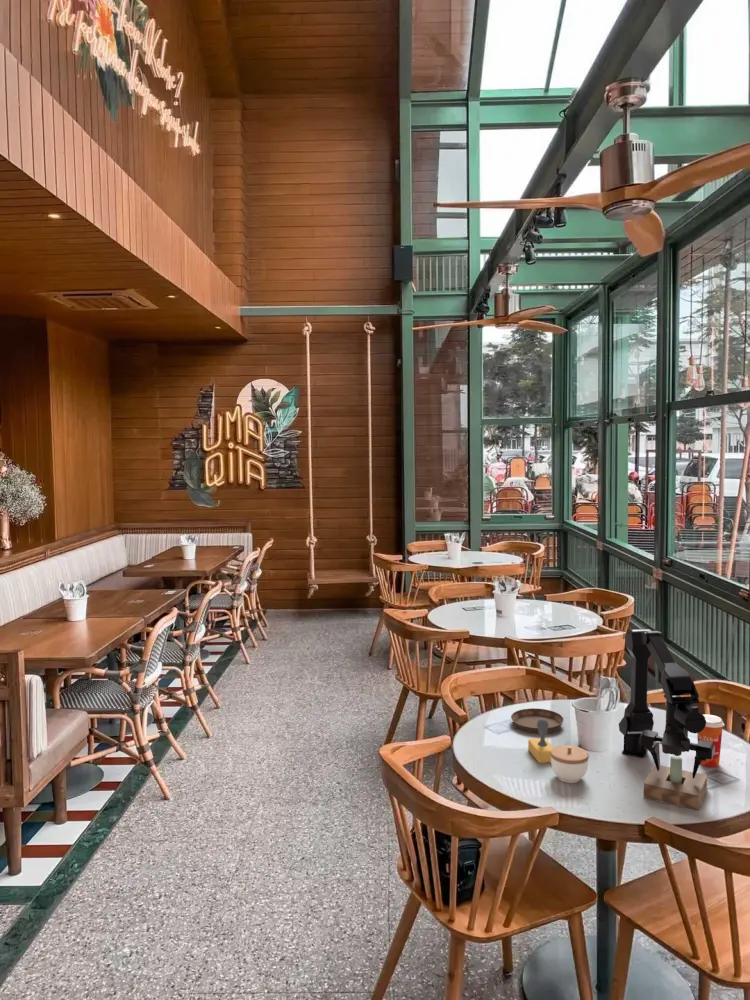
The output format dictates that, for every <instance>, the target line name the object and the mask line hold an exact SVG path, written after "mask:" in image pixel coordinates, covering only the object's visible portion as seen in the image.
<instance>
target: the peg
mask: <svg viewBox="0 0 750 1000" xmlns="http://www.w3.org/2000/svg"><path fill="white" fill-rule="evenodd" d="M669 760H670V761H669V764H670V765H669V767H670V782H674V783H679V784H682V770H683V758H682V757H680V756H675V755H672V756H670V759H669Z"/></svg>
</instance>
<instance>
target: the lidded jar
mask: <svg viewBox="0 0 750 1000" xmlns="http://www.w3.org/2000/svg"><path fill="white" fill-rule="evenodd" d="M553 747H554V748H552V749H551V751H550V755H551V762H550V763H551V764H550V765H551V769H552V771H553V772H554V775H555V776H557V778H558V779H559V781H561V782H563V783H567V784H576V783H579V782H580V781H581V779H583V778H584V777H585V775H586V774H587V771H588V767H589V757H590V755H589V752H588V751H587V750H585V749H584V748H582V747H579V746H575V745H570V744H569V745H567V744H566V745H565V744H564V745H557V746H553Z"/></svg>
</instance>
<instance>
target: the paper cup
mask: <svg viewBox="0 0 750 1000" xmlns="http://www.w3.org/2000/svg"><path fill="white" fill-rule="evenodd" d="M702 715H703V716H704V717H705V720H706V726H705V728H704V729H703V730H702V731H701V732H699V733H696V734H697V735H696V736H697V742H698V741H699V740H702V741H708V742H713V744H714V745H715V752H714V755H713V757H712V759H707V760H706V761H702V762H701V763H700V765H701V764H702V765H701V766H703V767H706V768H717V766H718V767H719V766H720V760H721V759H720V758H721V747H722V737H723V727H725V723H724V721H723V719H722V718H721V717H719V716H717V715H713V714H706V713H705V714H702Z"/></svg>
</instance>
